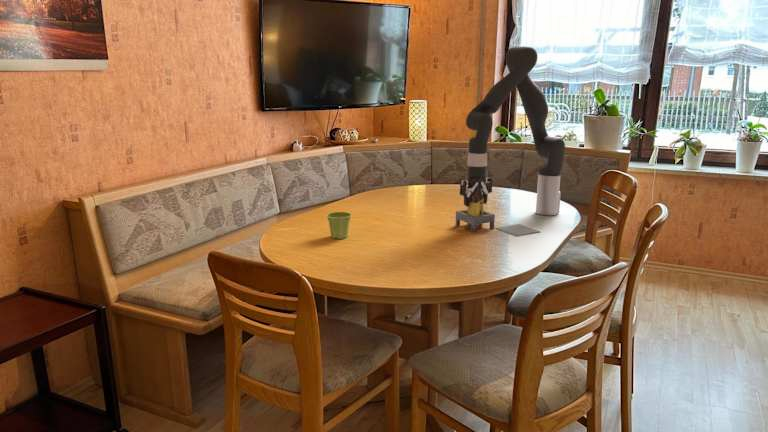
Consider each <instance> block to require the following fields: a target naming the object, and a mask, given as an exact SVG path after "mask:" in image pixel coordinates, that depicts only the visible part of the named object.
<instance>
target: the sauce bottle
mask: <svg viewBox="0 0 768 432" xmlns="http://www.w3.org/2000/svg"><path fill="white" fill-rule="evenodd" d="M481 181H482V179H476V182H478V185H477V187H476V190H475V191H473V192H472V193H471V194H470V196H469V197H470V201H469V206H467V207H466V208H467V209H466V210H467V214H469V215H471V216H481V215H483V211H484V206H485V204H484V197H483V193H482V191H481V185H480V182H481ZM466 227H467V228H469V229H471V224H469V223H467V222H466ZM482 227H483V224H477V225H476V230H478V229H481V228H482Z"/></svg>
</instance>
